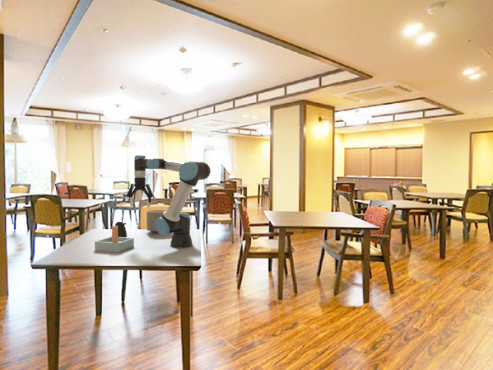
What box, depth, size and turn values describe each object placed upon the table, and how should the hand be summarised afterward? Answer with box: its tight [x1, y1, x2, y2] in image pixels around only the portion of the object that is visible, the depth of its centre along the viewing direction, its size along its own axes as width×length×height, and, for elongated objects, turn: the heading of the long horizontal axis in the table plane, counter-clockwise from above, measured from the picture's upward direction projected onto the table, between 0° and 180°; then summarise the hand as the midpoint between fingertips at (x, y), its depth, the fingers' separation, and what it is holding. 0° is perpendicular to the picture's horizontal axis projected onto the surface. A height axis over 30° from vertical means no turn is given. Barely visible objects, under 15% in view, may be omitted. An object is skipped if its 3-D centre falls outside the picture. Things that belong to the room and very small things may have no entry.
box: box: [94, 235, 135, 254], centre depth 204 cm, size 18×16×6 cm
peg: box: [111, 225, 118, 243], centre depth 204 cm, size 4×4×14 cm
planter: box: [146, 209, 167, 234], centre depth 258 cm, size 19×19×18 cm
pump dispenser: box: [114, 221, 128, 238], centre depth 223 cm, size 10×10×15 cm
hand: (140, 206), depth 218 cm, fingers open, 13 cm apart
